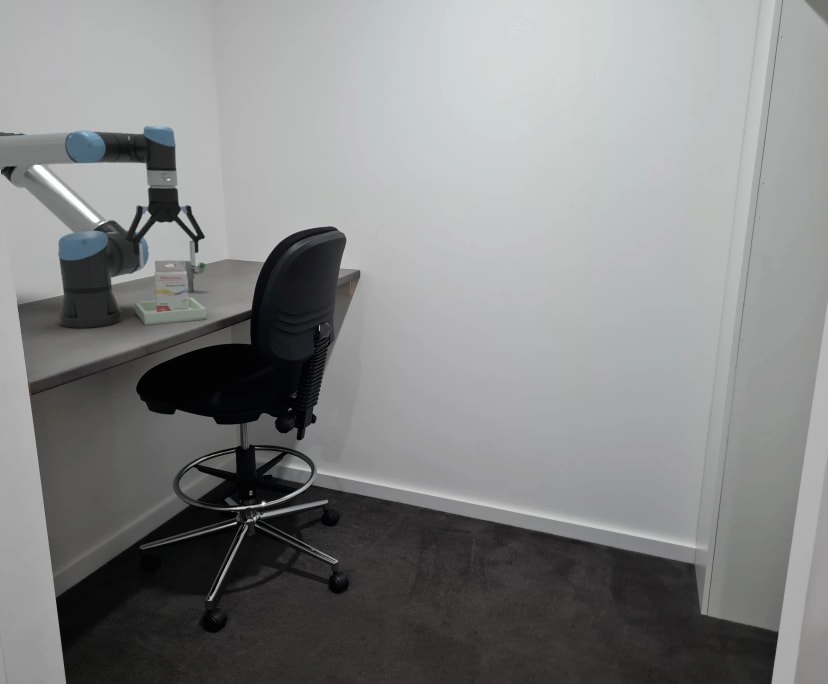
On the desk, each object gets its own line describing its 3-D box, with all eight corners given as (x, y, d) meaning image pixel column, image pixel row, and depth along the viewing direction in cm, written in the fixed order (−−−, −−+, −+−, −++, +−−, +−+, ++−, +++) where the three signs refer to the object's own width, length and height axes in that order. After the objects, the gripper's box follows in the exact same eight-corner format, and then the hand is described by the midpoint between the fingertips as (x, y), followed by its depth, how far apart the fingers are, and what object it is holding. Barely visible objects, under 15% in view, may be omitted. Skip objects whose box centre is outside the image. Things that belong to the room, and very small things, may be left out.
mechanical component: (203, 293, 218) (201, 263, 216) (174, 291, 220) (172, 261, 218) (207, 292, 221) (205, 261, 218) (179, 290, 223) (177, 260, 220)
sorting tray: (145, 325, 177) (144, 314, 176) (135, 312, 190) (134, 302, 190) (206, 319, 185) (206, 308, 184) (192, 307, 198) (192, 297, 198)
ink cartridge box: (156, 316, 184) (152, 263, 180) (157, 312, 189) (153, 260, 185) (189, 314, 187) (186, 262, 183) (189, 310, 192) (185, 259, 188)
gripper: (114, 187, 169) (121, 270, 175) (213, 188, 182) (217, 265, 187) (110, 185, 175) (116, 266, 181) (206, 186, 188) (210, 261, 194)
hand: (167, 266), depth 184 cm, fingers open, 13 cm apart
